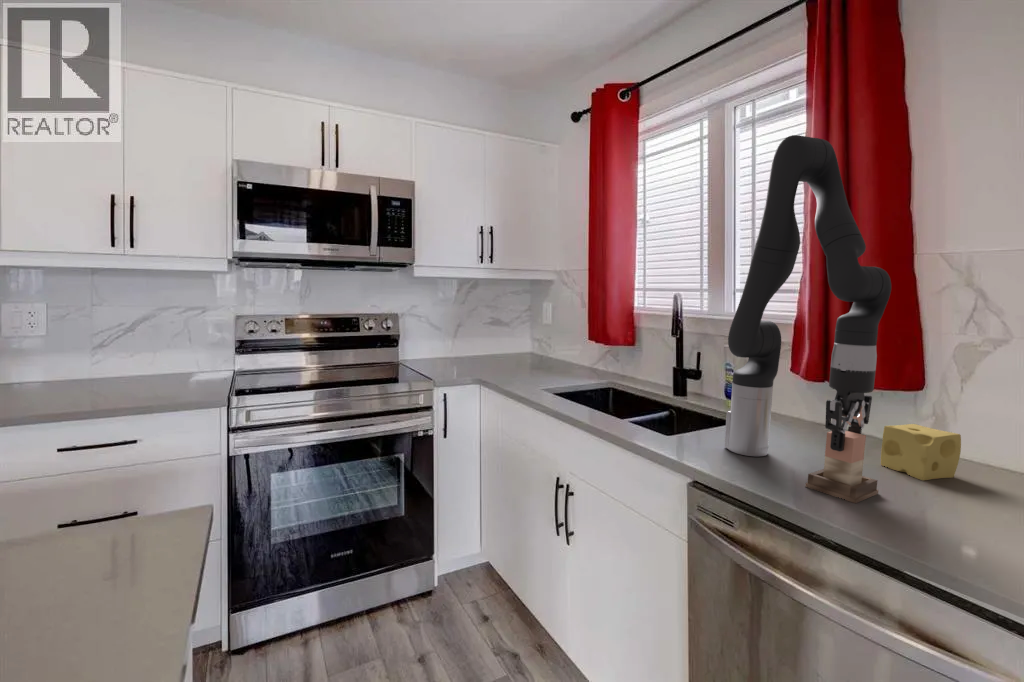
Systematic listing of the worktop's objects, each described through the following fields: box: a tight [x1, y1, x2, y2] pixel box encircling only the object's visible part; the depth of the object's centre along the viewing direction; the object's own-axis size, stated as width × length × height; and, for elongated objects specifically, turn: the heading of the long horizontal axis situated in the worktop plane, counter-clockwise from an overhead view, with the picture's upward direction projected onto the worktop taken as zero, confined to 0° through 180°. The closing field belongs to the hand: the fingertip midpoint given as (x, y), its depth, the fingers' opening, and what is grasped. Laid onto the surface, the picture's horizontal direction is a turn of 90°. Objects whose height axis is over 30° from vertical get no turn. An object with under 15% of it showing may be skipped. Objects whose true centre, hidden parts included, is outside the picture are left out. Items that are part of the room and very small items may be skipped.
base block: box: [823, 455, 865, 486], centre depth 104 cm, size 5×5×6 cm
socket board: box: [805, 468, 879, 504], centre depth 104 cm, size 10×10×3 cm
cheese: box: [880, 423, 962, 481], centre depth 117 cm, size 10×11×10 cm
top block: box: [824, 430, 867, 463], centre depth 103 cm, size 5×5×5 cm
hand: (845, 447), depth 103 cm, fingers open, 6 cm apart
